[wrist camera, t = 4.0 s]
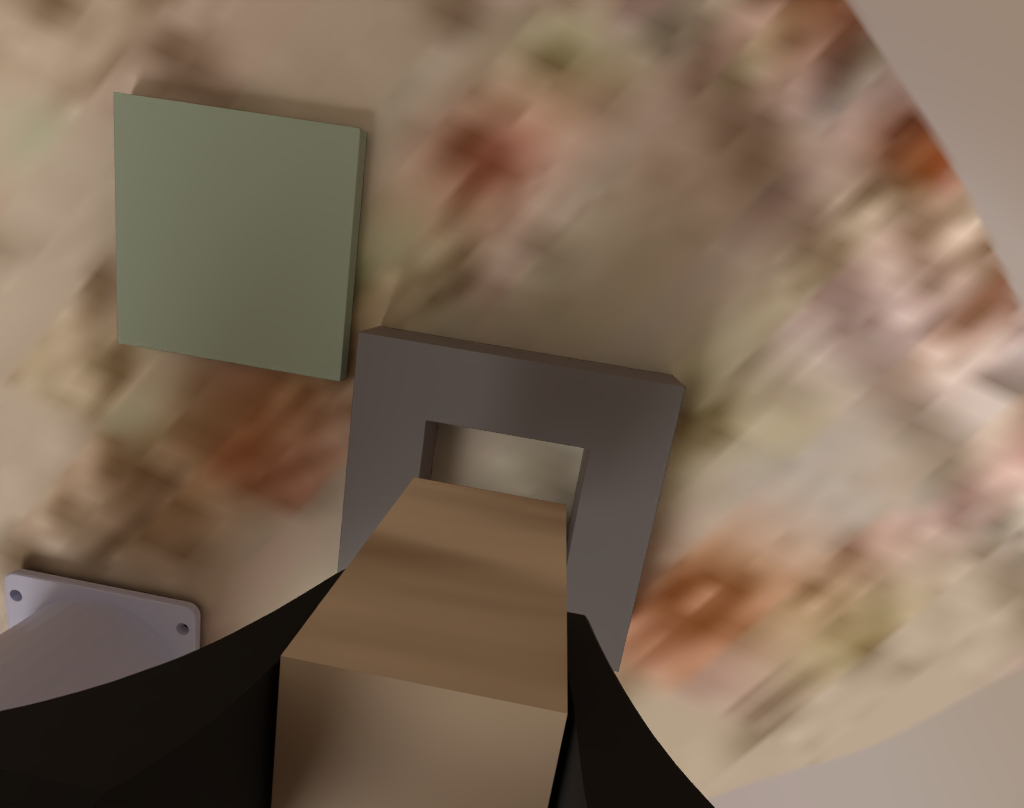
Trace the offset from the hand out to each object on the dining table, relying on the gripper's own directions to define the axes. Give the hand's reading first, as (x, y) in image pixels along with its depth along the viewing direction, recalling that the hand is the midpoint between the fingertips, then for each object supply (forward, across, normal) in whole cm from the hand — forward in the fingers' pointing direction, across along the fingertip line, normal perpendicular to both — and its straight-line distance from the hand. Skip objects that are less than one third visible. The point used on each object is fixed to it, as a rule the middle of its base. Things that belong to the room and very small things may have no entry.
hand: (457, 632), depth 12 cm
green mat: (+8, +10, -7) cm, 15 cm away
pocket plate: (+8, 0, 0) cm, 8 cm away
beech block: (+3, 0, 0) cm, 3 cm away
